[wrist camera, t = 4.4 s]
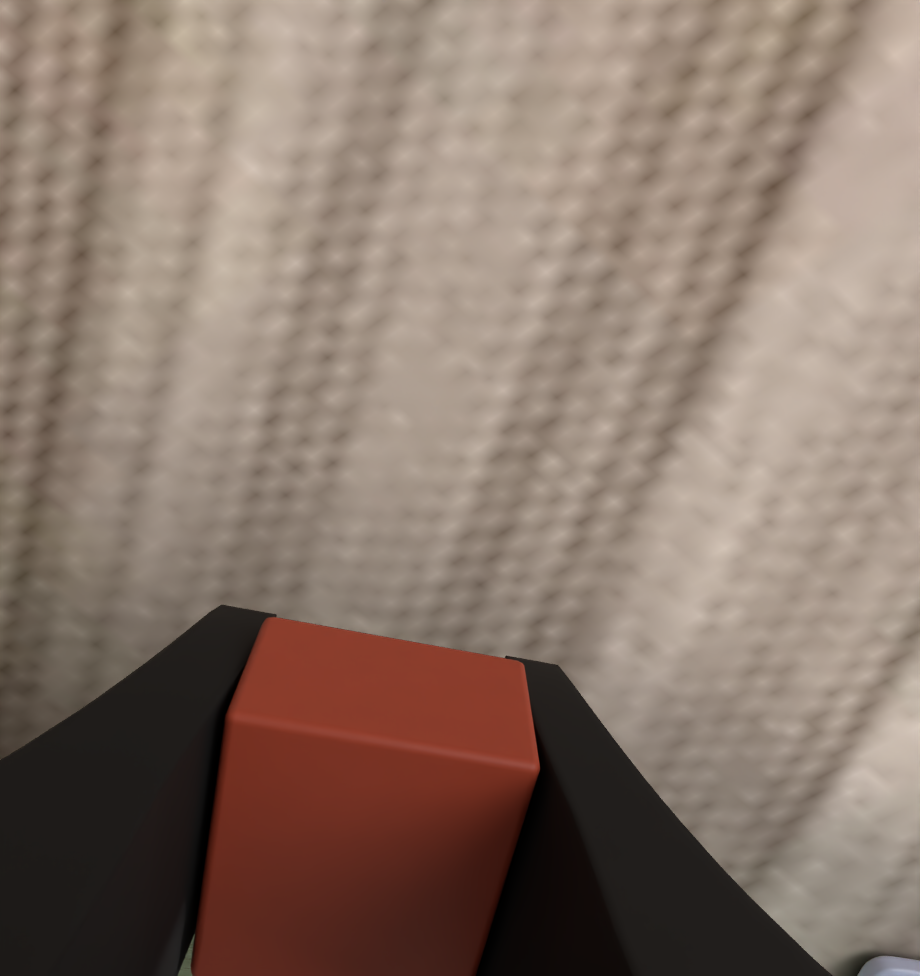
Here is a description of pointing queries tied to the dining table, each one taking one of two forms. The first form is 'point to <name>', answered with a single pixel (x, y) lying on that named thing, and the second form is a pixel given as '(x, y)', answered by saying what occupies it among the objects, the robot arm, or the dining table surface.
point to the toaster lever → (363, 807)
